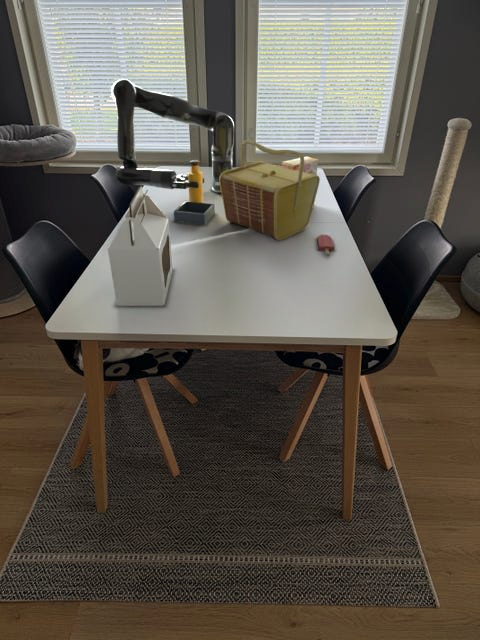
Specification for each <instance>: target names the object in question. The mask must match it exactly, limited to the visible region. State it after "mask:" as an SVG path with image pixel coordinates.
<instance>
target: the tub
mask: <svg viewBox="0 0 480 640" xmlns="http://www.w3.org/2000/svg"><path fill="white" fill-rule="evenodd" d="M215 211H216V210H215V203H209V202H203V203H201V202H192V201H189V200H185V201H183V202H182V203H181V204H180V205H179V206H178V207H177V208H176V209H175V210H173V220H174V222H180V223H187V224H195V225H206V224H207V223H208V222H209V221H210V220H211V218H212V217H213V216H214V215H215V213H216V212H215Z"/></svg>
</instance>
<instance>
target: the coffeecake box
mask: <svg viewBox="0 0 480 640" xmlns="http://www.w3.org/2000/svg"><path fill="white" fill-rule="evenodd" d="M281 164H282V166H281V167H284V168H288V169H292V170H296V171H299V168H300V157H298V158H294V159H290V160H289V159H288V160H284V161H281ZM318 165H319V159H317V158H314V157H310V156H304V167H303V172H304V173H308V174H312V175H318V174H317V173H318Z"/></svg>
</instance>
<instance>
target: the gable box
mask: <svg viewBox="0 0 480 640" xmlns="http://www.w3.org/2000/svg"><path fill="white" fill-rule="evenodd" d="M148 192H149V191H148V189H146V191H145V193H143V187H142V185H138V189H137V190H136V192H135V194H134V196H133V197H132V199H131V201H130V202H129V207H128V211H127V213H126V215H125V217H124V218H123V219H122V221H121V223H120V225H119V227H118V229H117V231H116V232H115V235H114V236H113V237H112V240H111V242H110V244H109V245H108V248H107V253H108V259H109V260H108V261H109V266H110V272H111V278H112V283H113V289H114V296H115V301H116V306H117V307H164V306H165V304H166V300H167V295H168V291H169V287H170V282H171V279H172V274H173V257H172V256H173V255H172V246H171V234H170V233H171V232H170V221H169V220H170V219H169V218H168V217H167V216H166V214H165V213H164V212H163V211H162V210H161V208H160V207H159V206H158V205H157V204H156V203H155V201H154V199H152V198H151V197H150V195H149V196H148V195H147V193H148Z"/></svg>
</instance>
